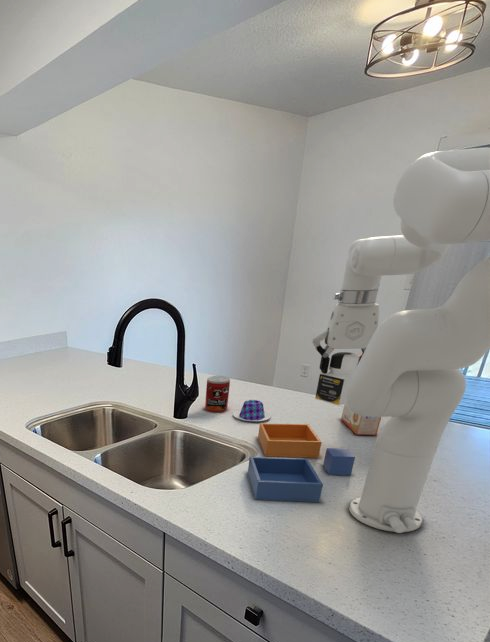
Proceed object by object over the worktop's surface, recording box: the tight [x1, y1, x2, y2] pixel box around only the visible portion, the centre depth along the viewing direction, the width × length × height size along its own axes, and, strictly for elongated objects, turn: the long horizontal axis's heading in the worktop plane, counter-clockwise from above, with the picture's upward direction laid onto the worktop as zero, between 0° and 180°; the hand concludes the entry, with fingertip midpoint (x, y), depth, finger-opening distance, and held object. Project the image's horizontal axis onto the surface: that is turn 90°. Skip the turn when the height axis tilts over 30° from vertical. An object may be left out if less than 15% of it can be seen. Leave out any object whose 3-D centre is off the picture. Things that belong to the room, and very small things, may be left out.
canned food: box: [204, 375, 231, 413], centre depth 152 cm, size 8×8×11 cm
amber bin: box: [257, 422, 322, 459], centre depth 122 cm, size 13×13×5 cm
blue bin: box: [247, 456, 324, 503], centre depth 102 cm, size 13×13×5 cm
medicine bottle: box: [314, 351, 359, 406], centre depth 111 cm, size 7×7×12 cm
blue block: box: [322, 447, 356, 476], centre depth 108 cm, size 5×5×5 cm
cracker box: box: [340, 353, 382, 436], centre depth 128 cm, size 14×6×21 cm, turn 168°
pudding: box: [232, 399, 272, 422], centre depth 145 cm, size 12×12×5 cm
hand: (341, 372), depth 110 cm, fingers closed on medicine bottle, 7 cm apart
